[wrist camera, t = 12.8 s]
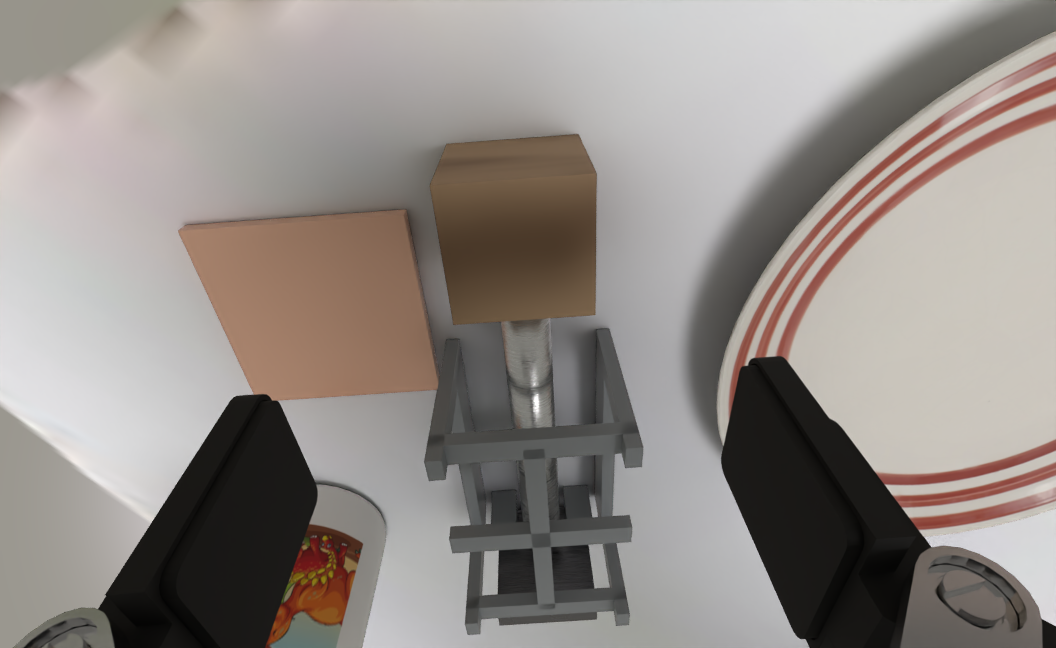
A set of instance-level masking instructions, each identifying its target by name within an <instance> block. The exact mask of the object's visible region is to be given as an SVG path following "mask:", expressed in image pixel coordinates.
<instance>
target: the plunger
mask: <svg viewBox="0 0 1056 648" xmlns="http://www.w3.org/2000/svg"><path fill="white" fill-rule="evenodd" d="M501 327H502V336H503V345H504V354H505V363H506V372H507V381H508V390H509V399H510V408H511V417H512V426H513V429H526V428H541V427H555V409H554V388H553V368H552V347H551V326H550V318H546V319H532V320H517V321H503V322H501ZM516 462H517V471H518V480H519V490H520V499H521V508H522V510H517V520H518V522H530V519H529V509H528V499H527V489H526V479H525V469H524V460H516ZM545 465H546V480H547V495H548V510H549V520H562V519H566V513H565V507H562V508H559V492H558V471H557V458H545ZM551 555H552V570H553V585H554V591H564V590H580V589H594V582H593V575H592V568H591V561H590V554H589V546H588V545H574V546H559V547H551ZM532 592H537V589H536V579H535V569H534V559H533V549H532V548H527V549H512V550H499V564H498V595H500V594H516V593H532ZM498 619H499V624H500V625H514V624H530V623H546V622H562V621H578V620H595V619H597V612H587V613H571V614H555V615H539V616H523V617H507V618H498Z"/></svg>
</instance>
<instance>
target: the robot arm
mask: <svg viewBox="0 0 1056 648" xmlns="http://www.w3.org/2000/svg"><path fill="white" fill-rule="evenodd" d="M721 464H722V469H723V473H724V475H725V478H726V480H727V482H728V484H729V487H730V489H731V491H732V494H733V496H734V498H735V500H736V503H737V505H738V507H739V509H740V512H741V514H742V516H743V518H744V521H745V523H746V525H747V528H748V530H749V532H750V534H751V537H752V539H753V541H754V543H755V546H756V548H757V550H758V553H759V555H760V557H761V559H762V562H763V564H764V566H765V568H766V571H767V573H768V575H769V577H770V580H771V582H772V584H773V587H774V589H775V591H776V593H777V596H778V598H779V600H780V602H781V605H782V607H783V609H784V612H785V614H786V616H787V618H788V621H789V623H790V625H791V627H792V629H793V631H794V633H795V634H796V636H797V637H798V638H800V639H806V641H807V643H808V645H809V647H810V648H1056V626H1054V625H1052V624H1050V623H1048V622H1046V621H1044V620H1042V619H1041V616H1040V612H1039V608H1038V606H1037V604H1036V603H1035V601H1034V599H1033V598H1032V596H1031V594H1030V593H1029V591H1028V590H1027V589H1026V588H1025V587H1024V586H1023V585H1022V584H1021V583H1020V582H1019V581H1018V580H1017V579H1016V578H1015V577H1014V576H1013V575H1012V574H1010V573H1009V572H1008V571H1006V570H1005V569H1004V568H1002V567H1001V566H1000V565H998V564H997V563H995V562H993V561H991V560H990V559H988V558H986V557H984V556H982V555H980V554H978V553H975V552H972V551H969V550H966V549H963V548H959V547H951V546H939V547H931V546H930V545H929V543H928V542H927V541H926V539H925V538H924V537H923V535H922V534H921V533H920V531H919V530H918V529H917V527H916V526H915V525H914V523H913V522H912V521H911V519H910V518H909V517H908V515H907V514H906V513H905V511H904V510H903V509H902V507H901V506H900V505H899V503H898V502H897V501H896V499H895V498H894V497H893V495H892V494H891V493H890V491H889V490H888V489H887V487H886V486H885V485H884V483H883V482H882V480H881V479H880V478H879V476H878V475H877V474H876V472H875V471H874V470H873V468H872V467H871V466H870V464H869V463H868V462H867V460H866V459H865V458H864V456H863V455H862V454H861V452H860V451H859V450H858V448H857V447H856V446H855V444H854V443H853V442H852V440H851V439H850V438H849V436H848V435H847V434H846V432H845V431H844V430H843V428H842V427H841V426H840V425H839V424H838V423H837V422H836V421H834V420H832V419H830V418H829V417H828V416H827V414H826V413H825V412H824V410H823V409H822V408H821V406H820V405H819V403H818V402H817V401H816V399H815V398H814V397H813V395H812V394H811V393H810V391H809V390H808V389H807V387H806V386H805V384H804V383H803V382H802V380H801V379H800V378H799V376H798V375H797V374H796V372H795V371H794V369H793V368H792V367H791V365H790V364H789V363H788V361H787V360H786V359H785V358H784V357H782V356H773V357H759V358H752V359H751V360H750V361H749V363H748V366H742V367H741V368H740V371H739V376H738V381H737V385H736V390H735V395H734V399H733V404H732V409H731V413H730V418H729V423H728V427H727V432H726V437H725V442H724V446H723V451H722V456H721ZM317 498H318V490H317V486H316V483H315V481H314V479H313V476H312V474H311V472H310V470H309V467H308V465H307V463H306V461H305V458H304V456H303V454H302V452H301V450H300V447H299V445H298V443H297V441H296V438H295V436H294V434H293V432H292V429H291V427H290V425H289V423H288V421H287V418H286V416H285V414H284V412H283V409H282V407H281V405H280V403H279V402H278V401H275V400H273V401H272V399H271V398H270V396H268V395H267V394H257V395H243V396H236V397H234V398H233V399H232V400H231V401H230V402H229V404H228V405H227V407H226V408H225V410H224V412H223V413H222V415H221V416H220V418H219V419H218V421H217V422H216V424H215V425H214V427H213V429H212V430H211V432H210V433H209V435H208V436H207V438H206V439H205V441H204V442H203V444H202V446H201V447H200V449H199V450H198V452H197V453H196V455H195V456H194V458H193V460H192V461H191V463H190V464H189V466H188V467H187V469H186V470H185V472H184V473H183V475H182V477H181V478H180V480H179V481H178V483H177V484H176V486H175V487H174V489H173V491H172V492H171V494H170V495H169V497H168V498H167V500H166V501H165V503H164V504H163V506H162V508H161V509H160V511H159V512H158V514H157V515H156V517H155V518H154V520H153V521H152V523H151V525H150V526H149V528H148V529H147V531H146V533H145V534H144V536H143V537H142V539H141V540H140V542H139V543H138V545H137V546H136V548H135V549H134V551H133V552H132V554H131V556H130V557H129V559H128V560H127V562H126V563H125V565H124V566H123V568H122V570H121V571H120V573H119V574H118V576H117V577H116V579H115V580H114V582H113V583H112V585H111V587H110V588H109V590H108V591H107V593H106V594H105V595H106V597H105V599H104V601H103V602H102V604H101V605H100V607H99V608H98V609H96V608H78V609H74V610H71V611H67V612H64V613H62V614H60V615H58V616H56V617H54V618H52V619H49V620H47V621H46V622H44V623H43V624H41V625H40V626H39V627H37V628H36V629H34V630H33V631H31V632H30V633H28V634H27V635H26V636H25V637H24V638H23V639H22V640H21V641H20V642H19V643H18V644H17V645H15V646H14V647H13V648H265V647H266V644H267V641H268V638H269V636H270V633H271V630H272V627H273V624H274V622H275V619H276V616H277V613H278V610H279V608H280V605H281V602H282V599H283V596H284V593H285V591H286V588H287V585H288V582H289V579H290V577H291V574H292V571H293V568H294V565H295V563H296V560H297V557H298V554H299V551H300V549H301V546H302V543H303V540H304V537H305V535H306V532H307V529H308V526H309V523H310V521H311V518H312V515H313V512H314V509H315V506H316V503H317Z"/></svg>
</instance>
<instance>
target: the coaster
mask: <svg viewBox="0 0 1056 648" xmlns="http://www.w3.org/2000/svg"><path fill="white" fill-rule="evenodd" d="M178 232H179V234H180V237H181V239H182V241H183V243H184V245H185V247H186V249H187V252H188V254H189V256H190V258H191V260H192V262H193V264H194V267H195V269H196V271H197V273H198V275H199V277H200V280H201V282H202V284H203V286H204V288H205V290H206V292H207V295H208V297H209V299H210V301H211V303H212V305H213V307H214V310H215V312H216V314H217V316H218V318H219V320H220V323H221V325H222V327H223V329H224V331H225V333H226V335H227V338H228V340H229V342H230V344H231V346H232V348H233V350H234V353H235V355H236V357H237V359H238V361H239V363H240V366H241V368H242V370H243V372H244V374H245V376H246V378H247V381H248V383H249V385H250V387H251V389H252V391H253V393H254V395H257V394H267V395H268V396H270V398H271V399H272V401H273V400H275V401H277V400H292V399H307V398H321V397H336V396H351V395H366V394H381V393H395V392H410V391H425V390H437V389H438V383H439V378H440V374H439V369H438V364H437V359H436V354H435V349H434V344H433V340H432V335H431V330H430V325H429V320H428V315H427V310H426V305H425V300H424V295H423V290H422V285H421V280H420V275H419V270H418V265H417V260H416V255H415V250H414V245H413V240H412V235H411V230H410V225H409V220H408V216H407V211H406V209H403V210H390V211H376V212H362V213H348V214H334V215H320V216H306V217H292V218H278V219H264V220H250V221H236V222H222V223H208V224H195V225H185V226H184V227H183V228H181V229H180V230H179V231H178Z"/></svg>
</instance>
